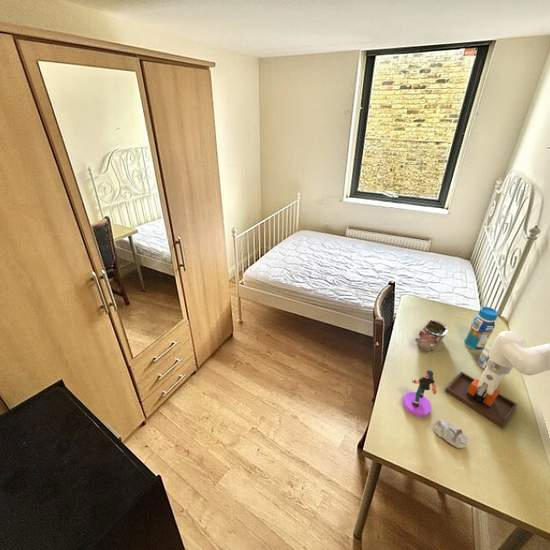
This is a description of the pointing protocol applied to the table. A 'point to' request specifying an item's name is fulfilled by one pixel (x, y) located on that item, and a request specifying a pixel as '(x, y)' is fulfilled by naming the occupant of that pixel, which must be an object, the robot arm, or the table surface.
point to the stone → (450, 433)
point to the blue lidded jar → (481, 329)
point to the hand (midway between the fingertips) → (480, 397)
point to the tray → (495, 413)
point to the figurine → (420, 396)
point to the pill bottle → (484, 356)
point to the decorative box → (431, 335)
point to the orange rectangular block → (489, 398)
